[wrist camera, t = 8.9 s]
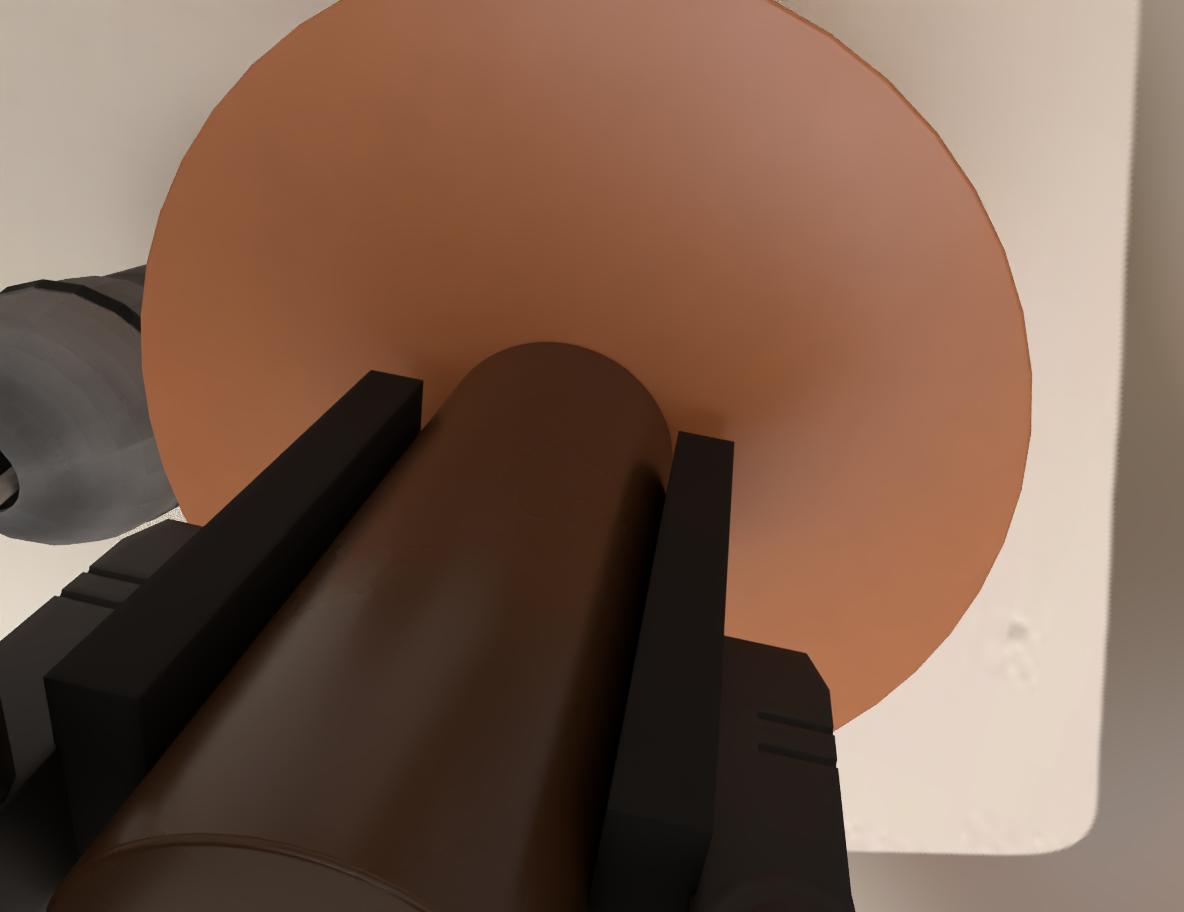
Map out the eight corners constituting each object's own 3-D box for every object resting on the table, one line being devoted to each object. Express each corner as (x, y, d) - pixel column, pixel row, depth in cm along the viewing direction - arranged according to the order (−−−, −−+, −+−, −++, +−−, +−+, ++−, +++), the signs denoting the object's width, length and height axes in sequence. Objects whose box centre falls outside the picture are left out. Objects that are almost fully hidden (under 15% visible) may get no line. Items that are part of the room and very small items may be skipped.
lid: (64, 444, 17) (-725, 940, 8) (468, -306, 11) (-812, -1695, 2) (628, 843, 19) (513, 1591, 10) (1219, 391, 13) (2215, 1219, 4)
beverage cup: (225, 158, 33) (-368, 329, 16) (397, 269, 34) (17, 552, 17) (162, 316, 37) (-389, 605, 19) (321, 414, 38) (-66, 779, 20)
